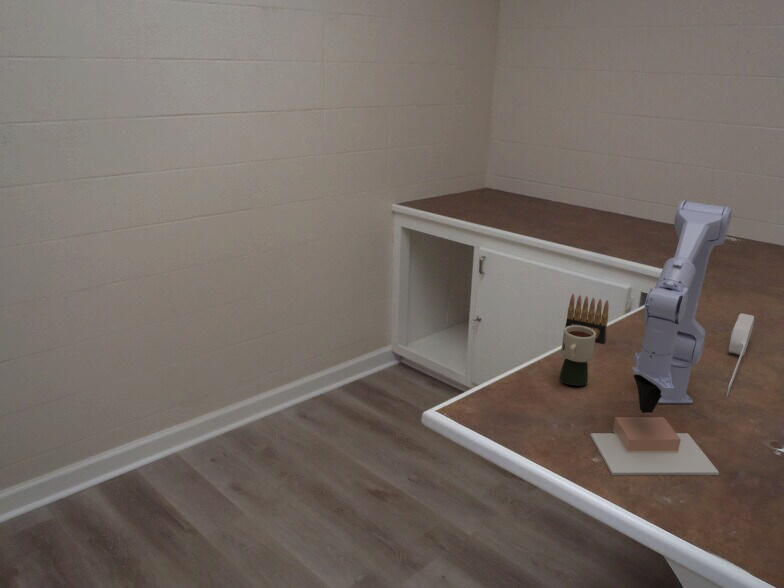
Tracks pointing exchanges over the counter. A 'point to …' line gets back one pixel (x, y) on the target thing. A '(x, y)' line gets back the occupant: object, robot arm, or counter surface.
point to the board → (653, 458)
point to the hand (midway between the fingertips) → (646, 410)
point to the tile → (646, 435)
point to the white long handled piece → (740, 339)
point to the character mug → (577, 354)
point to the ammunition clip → (589, 317)
